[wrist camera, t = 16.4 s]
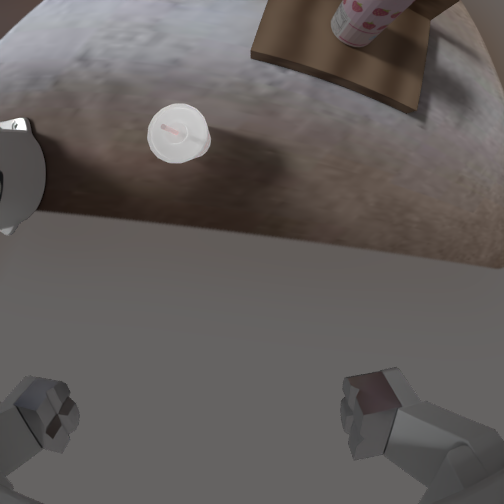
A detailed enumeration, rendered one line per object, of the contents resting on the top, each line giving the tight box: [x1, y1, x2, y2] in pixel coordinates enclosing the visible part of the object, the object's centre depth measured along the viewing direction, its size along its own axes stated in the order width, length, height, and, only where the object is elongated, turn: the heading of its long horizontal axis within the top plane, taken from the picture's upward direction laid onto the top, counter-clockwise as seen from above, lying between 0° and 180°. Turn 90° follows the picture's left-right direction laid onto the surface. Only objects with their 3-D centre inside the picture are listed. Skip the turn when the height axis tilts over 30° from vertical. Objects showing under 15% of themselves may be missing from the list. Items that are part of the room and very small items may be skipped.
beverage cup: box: [147, 104, 211, 163], centre depth 30 cm, size 6×6×14 cm
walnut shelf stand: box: [251, 0, 459, 114], centre depth 28 cm, size 22×17×11 cm
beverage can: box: [331, 0, 415, 47], centre depth 23 cm, size 6×6×15 cm
